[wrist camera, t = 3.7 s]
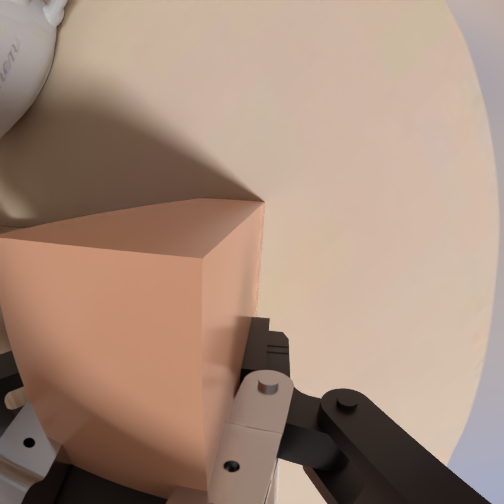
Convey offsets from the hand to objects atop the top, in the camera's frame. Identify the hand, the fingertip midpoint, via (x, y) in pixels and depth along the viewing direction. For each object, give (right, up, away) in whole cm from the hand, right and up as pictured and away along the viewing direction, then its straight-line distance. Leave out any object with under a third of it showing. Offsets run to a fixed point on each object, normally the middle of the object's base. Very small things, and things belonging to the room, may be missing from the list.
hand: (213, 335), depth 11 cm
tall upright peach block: (0, +1, +3) cm, 3 cm away
